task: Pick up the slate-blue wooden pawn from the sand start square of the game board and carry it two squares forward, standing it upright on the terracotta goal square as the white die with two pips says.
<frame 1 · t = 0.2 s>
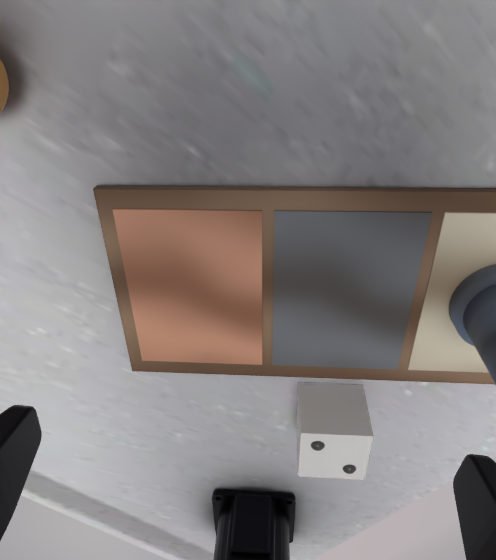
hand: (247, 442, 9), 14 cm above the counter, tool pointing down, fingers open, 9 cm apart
game board: (341, 292, 24), on the counter
white die: (328, 404, 29), on the counter
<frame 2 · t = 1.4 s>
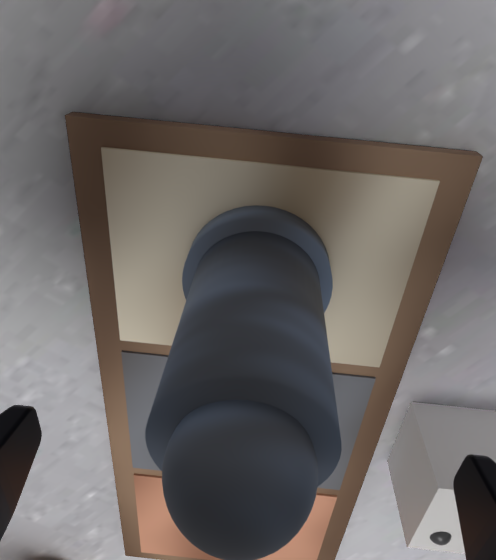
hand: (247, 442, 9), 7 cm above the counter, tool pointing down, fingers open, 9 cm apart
game board: (242, 417, 20), on the counter
white die: (442, 436, 20), on the counter
pawn: (258, 271, 15), point 1 cm above the counter, touching game board
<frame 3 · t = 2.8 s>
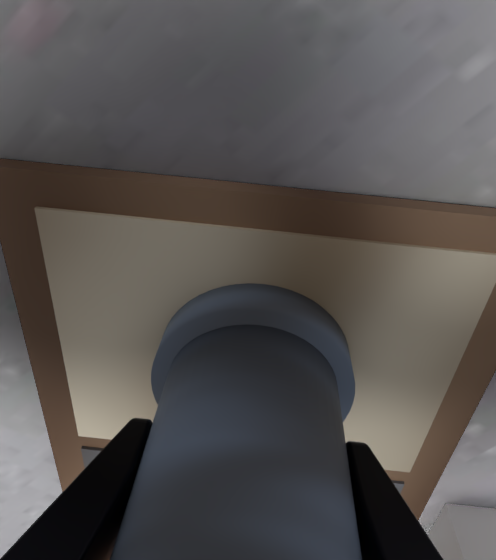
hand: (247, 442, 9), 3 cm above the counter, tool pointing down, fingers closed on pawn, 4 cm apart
game board: (235, 514, 16), on the counter
white die: (482, 538, 16), on the counter
pawn: (254, 362, 11), point 1 cm above the counter, touching game board, gripper
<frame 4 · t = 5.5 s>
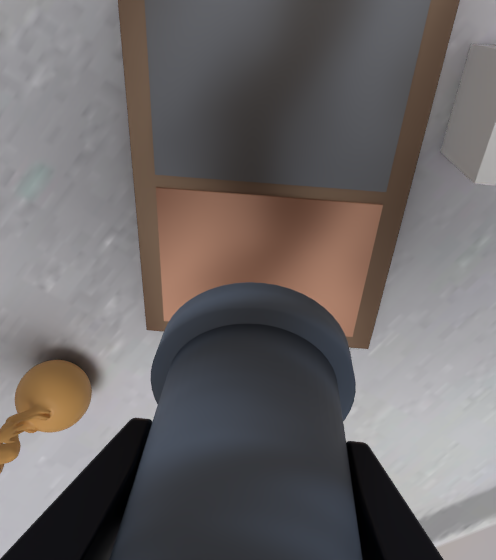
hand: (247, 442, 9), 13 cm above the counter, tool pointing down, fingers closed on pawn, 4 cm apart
game board: (277, 88, 18), on the counter
pawn: (254, 361, 11), point 11 cm above the counter, touching gripper
figurine: (55, 359, 27), on the counter
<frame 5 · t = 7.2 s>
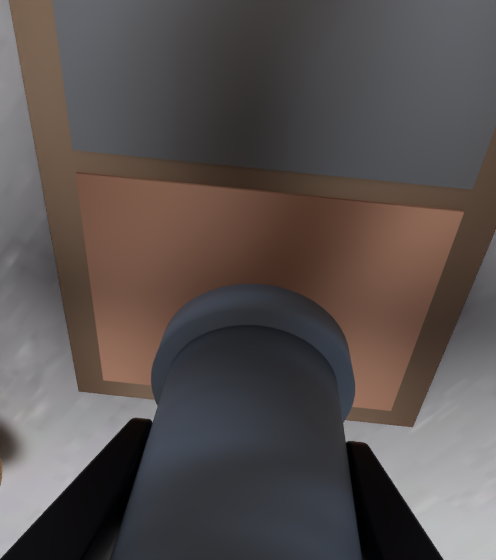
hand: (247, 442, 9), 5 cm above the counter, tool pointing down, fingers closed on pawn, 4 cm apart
pawn: (254, 363, 11), point 3 cm above the counter, touching gripper
when the fingers open (4 cm above the counter, at t = 8.2 s): pawn stays where it is, resting on game board.
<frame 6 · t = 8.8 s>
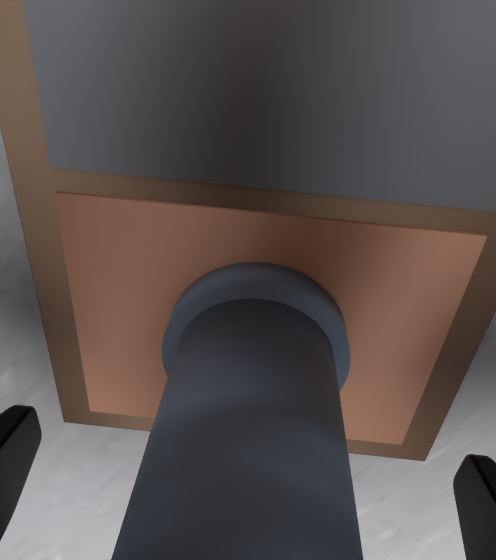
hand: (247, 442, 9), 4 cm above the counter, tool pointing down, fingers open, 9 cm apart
pawn: (256, 338, 12), point 1 cm above the counter, touching game board
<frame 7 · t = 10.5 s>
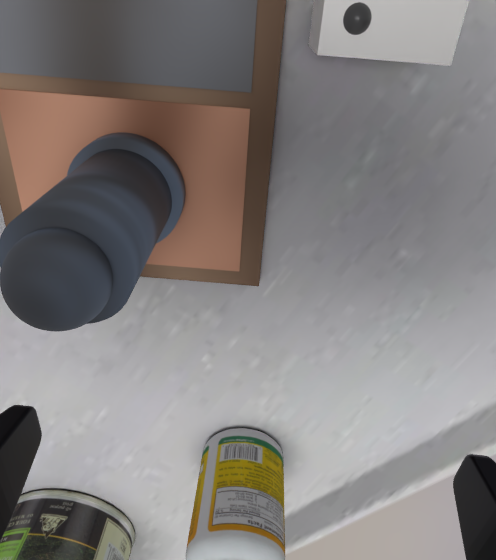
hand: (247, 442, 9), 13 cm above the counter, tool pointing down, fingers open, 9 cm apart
pawn: (130, 188, 19), point 1 cm above the counter, touching game board
coffee can: (72, 524, 35), on the counter
supplement bottle: (242, 449, 29), on the counter
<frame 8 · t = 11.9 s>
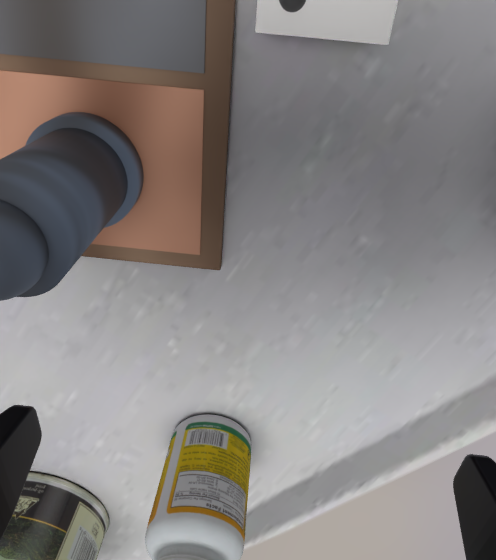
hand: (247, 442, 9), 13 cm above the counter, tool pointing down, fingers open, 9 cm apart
pawn: (89, 169, 19), point 1 cm above the counter, touching game board
coffee can: (47, 507, 36), on the counter
supplement bottle: (212, 436, 29), on the counter
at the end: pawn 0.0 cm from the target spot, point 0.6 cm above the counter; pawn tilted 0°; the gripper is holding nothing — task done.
